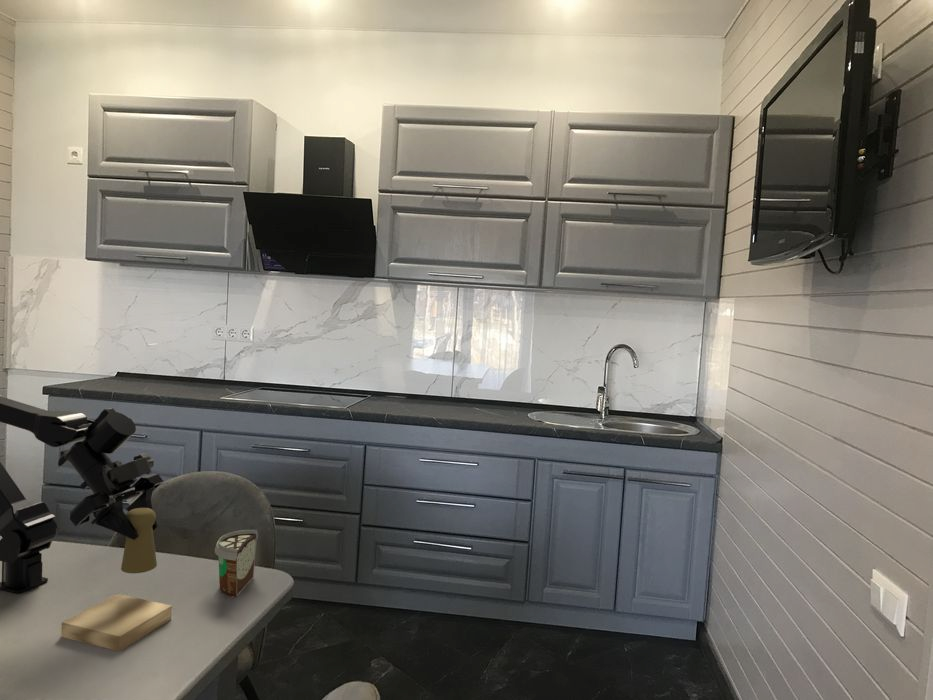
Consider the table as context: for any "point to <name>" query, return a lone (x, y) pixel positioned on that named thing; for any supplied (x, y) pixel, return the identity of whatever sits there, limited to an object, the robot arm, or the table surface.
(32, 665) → the table surface
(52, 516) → the robot arm
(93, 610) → the oak board
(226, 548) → the food container
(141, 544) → the cork
